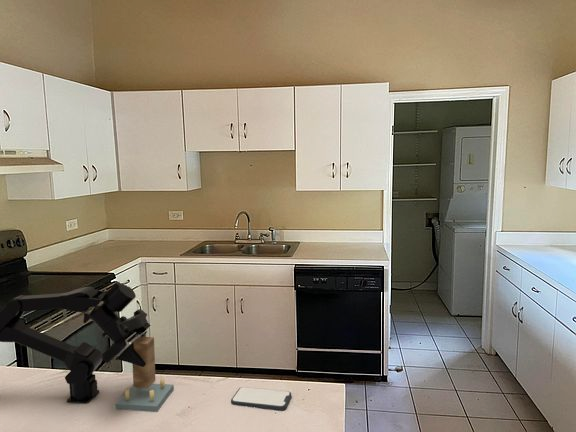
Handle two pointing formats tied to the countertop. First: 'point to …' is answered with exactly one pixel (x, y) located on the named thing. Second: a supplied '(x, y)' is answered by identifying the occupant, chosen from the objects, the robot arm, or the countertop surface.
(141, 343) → the walnut block
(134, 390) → the pegged blue base plate
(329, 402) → the countertop surface
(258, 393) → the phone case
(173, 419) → the countertop surface
